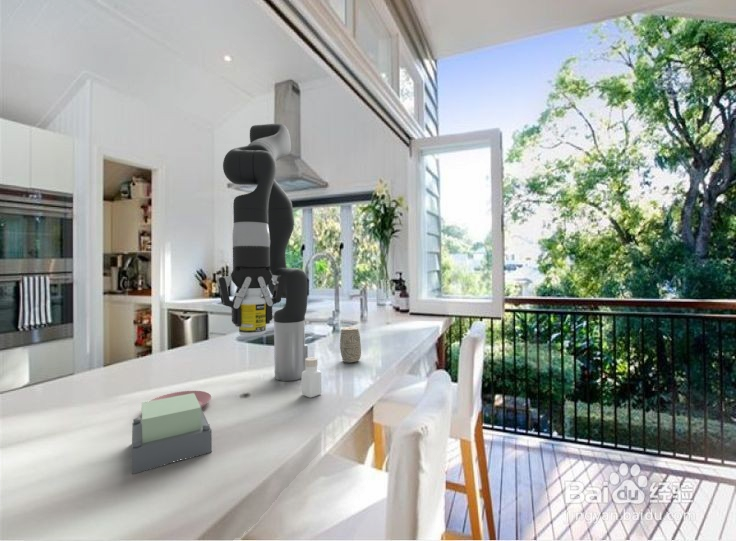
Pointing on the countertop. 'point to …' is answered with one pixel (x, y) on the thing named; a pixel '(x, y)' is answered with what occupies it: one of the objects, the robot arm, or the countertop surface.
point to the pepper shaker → (311, 378)
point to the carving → (350, 344)
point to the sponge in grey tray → (169, 432)
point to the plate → (200, 395)
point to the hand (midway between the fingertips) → (252, 324)
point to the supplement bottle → (253, 313)
